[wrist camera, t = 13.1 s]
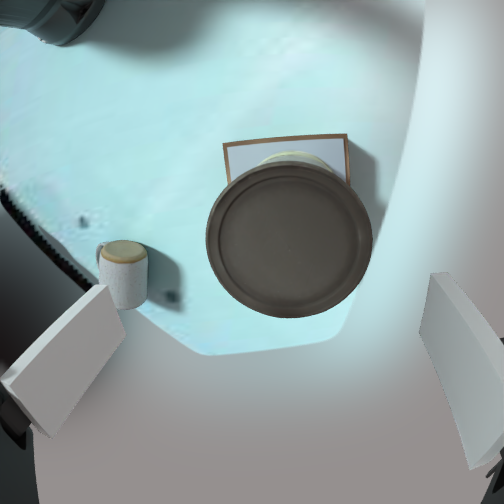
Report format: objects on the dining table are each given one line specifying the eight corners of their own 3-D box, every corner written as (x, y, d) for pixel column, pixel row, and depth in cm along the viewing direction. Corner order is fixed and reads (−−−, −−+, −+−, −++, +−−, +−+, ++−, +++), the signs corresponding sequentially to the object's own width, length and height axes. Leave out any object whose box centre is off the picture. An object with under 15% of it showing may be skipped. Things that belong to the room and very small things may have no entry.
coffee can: (361, 190, 29) (405, 235, 16) (302, 260, 33) (300, 342, 20) (281, 129, 28) (267, 124, 15) (226, 207, 32) (177, 260, 19)
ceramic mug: (157, 244, 41) (130, 266, 34) (155, 291, 44) (132, 318, 37) (100, 228, 42) (69, 246, 35) (102, 273, 45) (75, 295, 38)
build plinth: (232, 141, 34) (221, 143, 29) (340, 133, 32) (347, 133, 27) (245, 241, 39) (237, 257, 34) (344, 236, 36) (351, 252, 32)
